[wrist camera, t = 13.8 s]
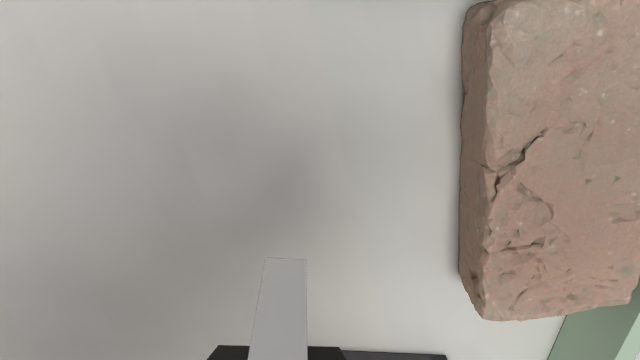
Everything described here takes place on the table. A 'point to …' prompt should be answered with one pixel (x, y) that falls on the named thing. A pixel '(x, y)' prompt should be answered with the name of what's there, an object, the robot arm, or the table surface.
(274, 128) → the table surface
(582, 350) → the sage end wall
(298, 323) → the robot arm
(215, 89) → the table surface
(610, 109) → the brick
